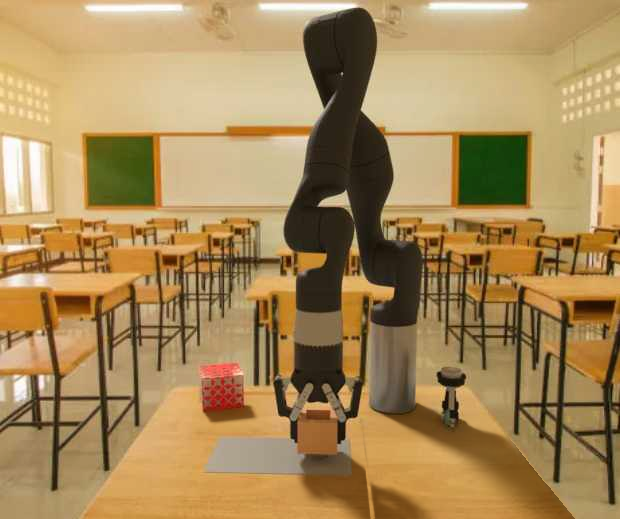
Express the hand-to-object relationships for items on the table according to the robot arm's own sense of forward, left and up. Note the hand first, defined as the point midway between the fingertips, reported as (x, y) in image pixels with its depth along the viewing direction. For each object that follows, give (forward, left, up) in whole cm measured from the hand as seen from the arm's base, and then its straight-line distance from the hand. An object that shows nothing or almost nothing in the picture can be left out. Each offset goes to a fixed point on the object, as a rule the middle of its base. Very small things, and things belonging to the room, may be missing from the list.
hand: (317, 441), depth 88 cm
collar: (0, 0, -1) cm, 1 cm away
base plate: (0, -6, -4) cm, 7 cm away
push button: (-17, +24, -4) cm, 30 cm away
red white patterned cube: (-22, -20, -4) cm, 30 cm away
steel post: (0, 0, -4) cm, 4 cm away
